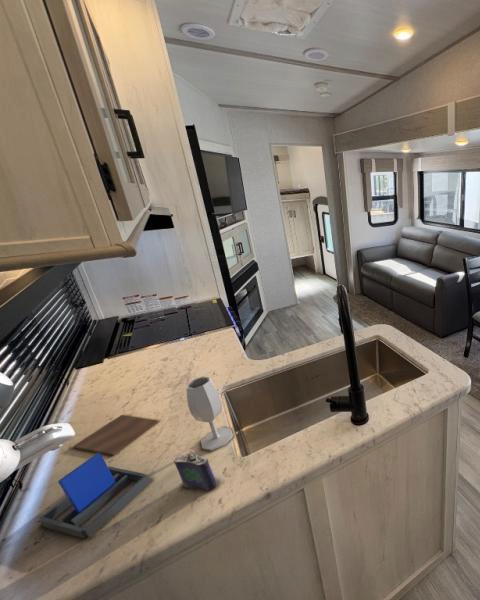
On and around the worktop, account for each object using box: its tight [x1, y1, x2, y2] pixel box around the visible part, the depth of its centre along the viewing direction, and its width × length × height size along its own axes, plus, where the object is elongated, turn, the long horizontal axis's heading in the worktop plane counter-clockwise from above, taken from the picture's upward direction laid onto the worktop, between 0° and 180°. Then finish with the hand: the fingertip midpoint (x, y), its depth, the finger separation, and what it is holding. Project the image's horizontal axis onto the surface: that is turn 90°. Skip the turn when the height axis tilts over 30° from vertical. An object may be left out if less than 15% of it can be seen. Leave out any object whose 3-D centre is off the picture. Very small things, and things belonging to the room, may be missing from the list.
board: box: [73, 414, 158, 456], centre depth 99 cm, size 16×14×1 cm
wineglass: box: [185, 376, 234, 452], centre depth 91 cm, size 9×9×21 cm
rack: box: [39, 466, 151, 540], centre depth 76 cm, size 15×15×2 cm
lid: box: [57, 452, 116, 514], centre depth 75 cm, size 1×8×12 cm, turn 167°
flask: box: [173, 450, 218, 492], centre depth 78 cm, size 9×3×11 cm, turn 79°
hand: (30, 460), depth 70 cm, fingers open, 8 cm apart
